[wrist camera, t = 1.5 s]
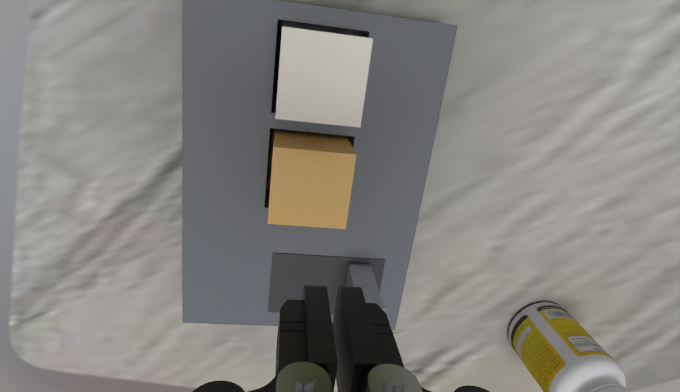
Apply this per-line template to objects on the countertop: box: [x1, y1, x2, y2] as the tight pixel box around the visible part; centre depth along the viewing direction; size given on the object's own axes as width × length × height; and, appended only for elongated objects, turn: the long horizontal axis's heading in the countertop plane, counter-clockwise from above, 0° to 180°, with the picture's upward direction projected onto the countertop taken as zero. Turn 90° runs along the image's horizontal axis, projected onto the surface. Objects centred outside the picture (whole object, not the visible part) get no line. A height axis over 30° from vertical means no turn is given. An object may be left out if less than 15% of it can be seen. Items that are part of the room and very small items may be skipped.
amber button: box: [267, 130, 356, 229], centre depth 26 cm, size 4×4×4 cm
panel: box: [183, 0, 458, 330], centre depth 29 cm, size 21×15×3 cm
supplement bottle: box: [508, 302, 630, 392], centre depth 33 cm, size 5×5×10 cm
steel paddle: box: [345, 263, 385, 312], centre depth 28 cm, size 4×2×6 cm, turn 173°
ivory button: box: [275, 26, 373, 128], centre depth 24 cm, size 4×4×4 cm
